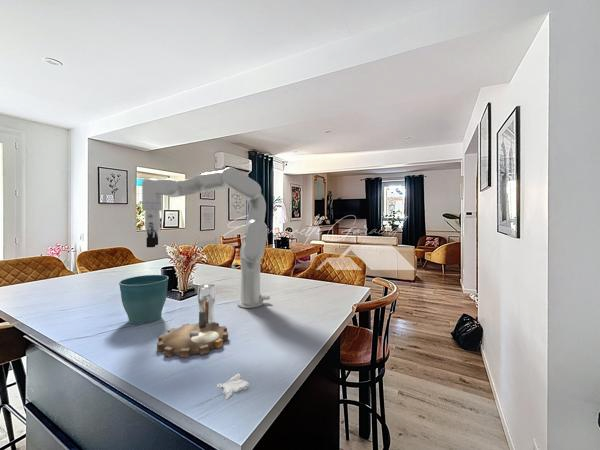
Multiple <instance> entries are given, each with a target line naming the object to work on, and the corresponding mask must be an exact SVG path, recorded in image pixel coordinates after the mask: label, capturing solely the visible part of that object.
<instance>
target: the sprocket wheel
mask: <svg viewBox="0 0 600 450" xmlns="http://www.w3.org/2000/svg"><path fill="white" fill-rule="evenodd" d="M157 339H158V340H157V342H156V349H157V351H158V352H160V351H163V356H166V357H171V356H173V355H174V356H175V355H176V356H177V355H178V356H179V357H180V358H189V356H191V355H197V354H199V355H204V354H208V353H209V351H210V350H212V349H220V348H221V347H222V346H224V341H228V340H229V331H228V328H227V327H226V325H223V326H220V324H219V323H218V322H213V323H211V324H206V311H200V310H199V312H198V323H194V324H193V323H192V324H190V323H185V324H182V325H181V326H180V327H176V328H174V327H172V328H170V329H167V332H166V333H165V334H160V335H159V336H158V337H157Z"/></svg>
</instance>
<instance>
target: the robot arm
mask: <svg viewBox="0 0 600 450" xmlns="http://www.w3.org/2000/svg"><path fill="white" fill-rule="evenodd" d="M141 188H142V189H141V192H142V193H141V194H142V195H141V196H142V198H141V200H142V202H141V203H142V207H141V208H142V211H144V212H145V213H144V216H145V217H144V218H145V219H144V223H145V224H144V226H145V230H144V231H145V233H146V248H155V247H156V246H158V245H159V233H160V232H161V215H160V211H161V212H162V210H163V207H162V206H163V205H162V201H163V200H162V196H167V197H170V198H178V197H183V196H185V197H186V196H190V195H195V194H201V193H209V192H213V191H219V190H224V189H233V190H235V191H236V192H238V193H239V194H240V195H241V197H242V198H243V199H244V200H245V201H247V204H248V209H247V210H248V212H247V218H246V223H245V228H244V232H245V234H246V236H245V242H243V243H242V244H241V247H240V249H239V251H240V252H239V257H240V300H238V301H237V306H238V307H240V308H243V309H252V308H258V307H261V306H263V305H264V300H266V301H269V300H270V295H266V294H265V295H262V294H261V260H262V259H263V257H264V255H265V250H266V245H267V244H266V243H267V241H268V240H267V239H268V233H269V232H268V226H267V224H266V223H265V220H266V219H265V218H266V214H267V213H266V212H267V203H266V200H265V197H264V195H263V194H262V187H261V185H260V184H259V182H258V181H255V180H254V179H253V178H251V177H249V176H247V175H246V174H245V173H243V172H241V171H239V170H238V169H236V168H234V167H226V168H224V169H223V170H217V171H212V172H211V171H209V172H204V173H200V174H198V175H195V176H194V177H191V178H187V179H182V180H175V179H172V178H164V179H156V178H145V179H143V180H142V182H141Z"/></svg>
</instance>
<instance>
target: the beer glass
mask: <svg viewBox="0 0 600 450" xmlns="http://www.w3.org/2000/svg"><path fill="white" fill-rule="evenodd" d="M216 297H217V295H216V284H214V283H213V284H212V283H204V284H199V285H198V287H197V303H198V304H197V305H198V309H199V310H198V311H199V312H200V311H206V324H212V323H215V315H214V310H215V305H216V304H215V303H216Z"/></svg>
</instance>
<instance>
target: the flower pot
mask: <svg viewBox="0 0 600 450" xmlns="http://www.w3.org/2000/svg"><path fill="white" fill-rule="evenodd" d="M168 283H169V276H168V275H163V274H148V275H147V274H145V275H137V276H132V277H128V278H124V279H121V280H119V282H118V285H119V290H120V297H121V303H122V306H123V309H124V310H125V311H124V312H125V313H126V315H127V317H128V318H127V319H128V323H130V324H133V325H143V324H144V325H145V324H148V323H152V322H155V321H157V320H159V319H160V318H161V317H162V312H163V310H164V309H163V308H164V306H165V303H166V300H167V295H168V285H169V284H168Z"/></svg>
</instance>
